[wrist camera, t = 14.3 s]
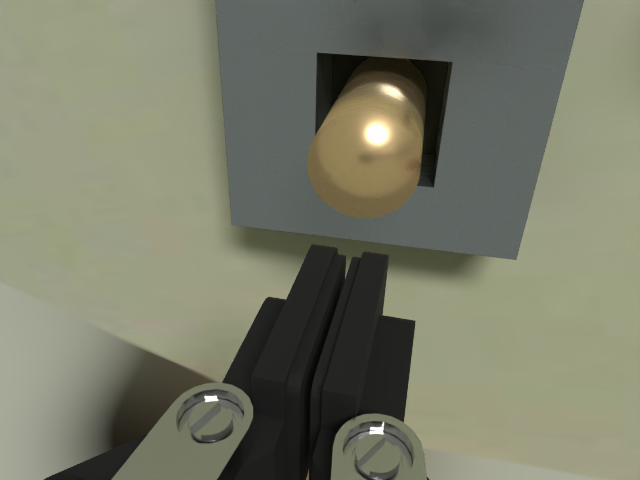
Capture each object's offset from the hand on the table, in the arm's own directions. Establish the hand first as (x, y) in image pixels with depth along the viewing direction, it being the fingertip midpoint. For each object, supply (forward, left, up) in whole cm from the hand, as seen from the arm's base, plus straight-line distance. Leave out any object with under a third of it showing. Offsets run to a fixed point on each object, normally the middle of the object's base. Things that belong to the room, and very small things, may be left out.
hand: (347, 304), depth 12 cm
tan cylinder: (+1, 0, -17) cm, 17 cm away
